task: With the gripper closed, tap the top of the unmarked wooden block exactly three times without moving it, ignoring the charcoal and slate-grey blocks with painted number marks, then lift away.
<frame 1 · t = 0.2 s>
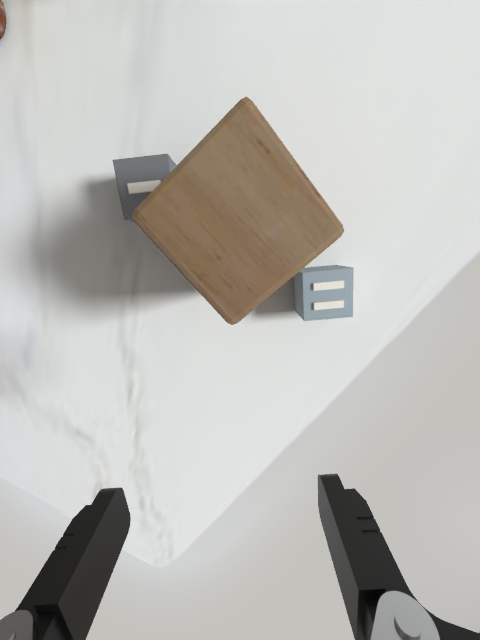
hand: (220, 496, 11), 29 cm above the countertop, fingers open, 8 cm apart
charcoal marked block: (161, 197, 35), on the countertop
slate marked block: (314, 288, 37), on the countertop
wooden block: (240, 237, 36), on the countertop
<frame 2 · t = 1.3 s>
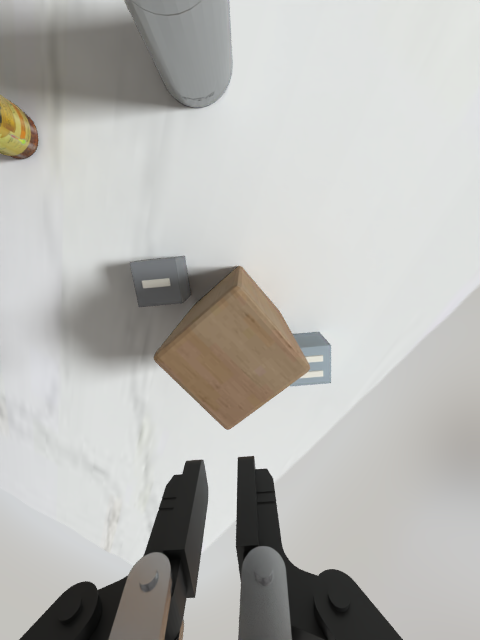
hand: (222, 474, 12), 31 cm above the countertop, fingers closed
charcoal marked block: (168, 277, 40), on the countertop
slate marked block: (301, 350, 43), on the countertop
wooden block: (236, 309, 42), on the countertop
sauce bottle: (18, 134, 35), on the countertop
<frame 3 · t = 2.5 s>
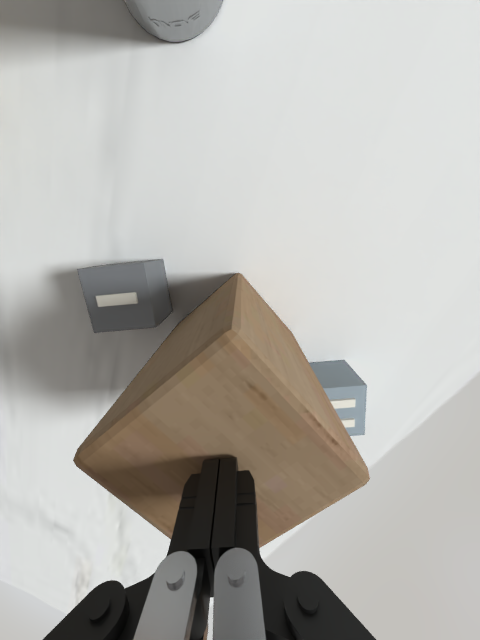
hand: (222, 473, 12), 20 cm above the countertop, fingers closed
charcoal marked block: (142, 288, 30), on the countertop
slate marked block: (319, 383, 33), on the countertop
wooden block: (234, 330, 31), on the countertop, touching gripper
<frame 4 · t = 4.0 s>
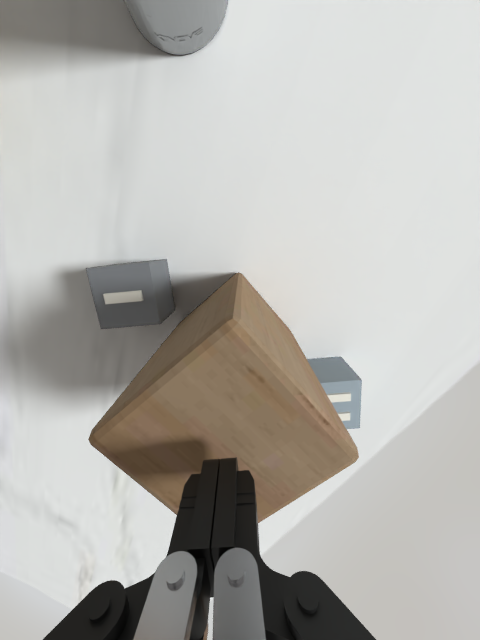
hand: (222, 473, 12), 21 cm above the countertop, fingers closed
charcoal marked block: (146, 287, 31), on the countertop
slate marked block: (317, 379, 34), on the countertop
wooden block: (235, 327, 32), on the countertop
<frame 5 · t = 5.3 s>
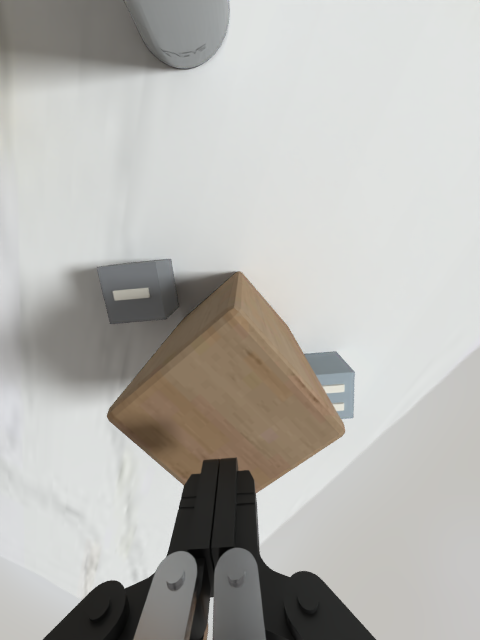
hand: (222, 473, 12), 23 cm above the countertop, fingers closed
charcoal marked block: (151, 285, 33), on the countertop
slate marked block: (313, 373, 36), on the countertop
wooden block: (235, 323, 34), on the countertop
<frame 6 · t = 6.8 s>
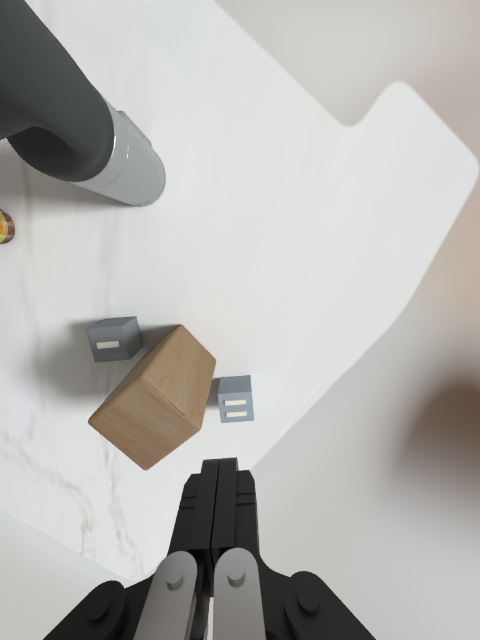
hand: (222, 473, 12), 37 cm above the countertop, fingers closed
charcoal marked block: (124, 332, 49), on the countertop
slate marked block: (236, 389, 52), on the countertop
wooden block: (181, 357, 51), on the countertop
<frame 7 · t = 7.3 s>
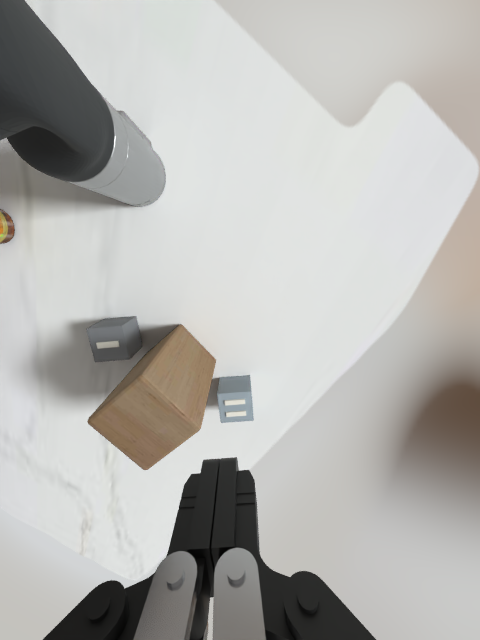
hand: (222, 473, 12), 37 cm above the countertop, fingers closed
charcoal marked block: (124, 332, 49), on the countertop
slate marked block: (236, 389, 52), on the countertop
wooden block: (181, 357, 51), on the countertop
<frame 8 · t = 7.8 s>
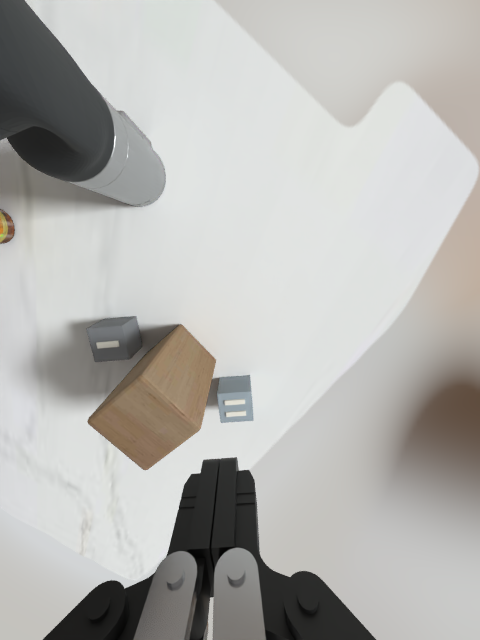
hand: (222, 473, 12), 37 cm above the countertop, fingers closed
charcoal marked block: (124, 332, 49), on the countertop
slate marked block: (236, 389, 52), on the countertop
wooden block: (181, 357, 51), on the countertop
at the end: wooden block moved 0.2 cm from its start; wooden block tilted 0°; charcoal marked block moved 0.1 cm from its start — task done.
